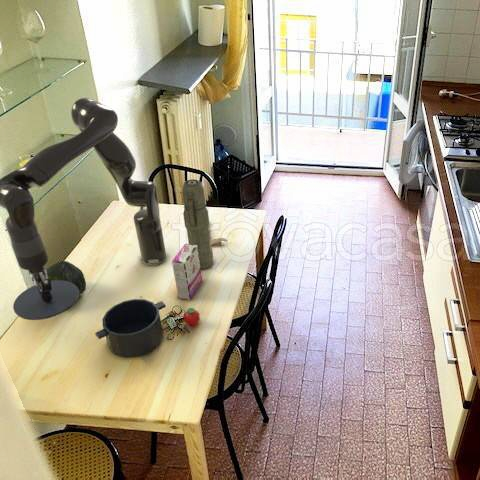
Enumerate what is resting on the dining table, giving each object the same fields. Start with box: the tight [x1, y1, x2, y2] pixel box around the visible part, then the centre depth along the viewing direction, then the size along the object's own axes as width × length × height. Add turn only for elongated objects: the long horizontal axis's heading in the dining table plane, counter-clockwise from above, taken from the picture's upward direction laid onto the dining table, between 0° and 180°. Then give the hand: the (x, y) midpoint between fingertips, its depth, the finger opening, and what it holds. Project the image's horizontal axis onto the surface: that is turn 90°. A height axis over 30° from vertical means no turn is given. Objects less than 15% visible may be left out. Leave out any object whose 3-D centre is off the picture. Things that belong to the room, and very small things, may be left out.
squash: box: [46, 260, 87, 296], centre depth 176 cm, size 14×15×15 cm
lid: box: [12, 280, 80, 321], centre depth 150 cm, size 18×18×6 cm
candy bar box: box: [171, 243, 203, 301], centre depth 180 cm, size 11×5×16 cm, turn 168°
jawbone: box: [208, 221, 229, 246], centre depth 214 cm, size 9×20×2 cm, turn 33°
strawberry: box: [183, 307, 201, 328], centre depth 168 cm, size 5×5×6 cm
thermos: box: [181, 178, 214, 271], centre depth 188 cm, size 9×12×35 cm
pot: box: [94, 298, 167, 359], centre depth 160 cm, size 17×22×10 cm
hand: (46, 297), depth 151 cm, fingers closed on lid, 2 cm apart
